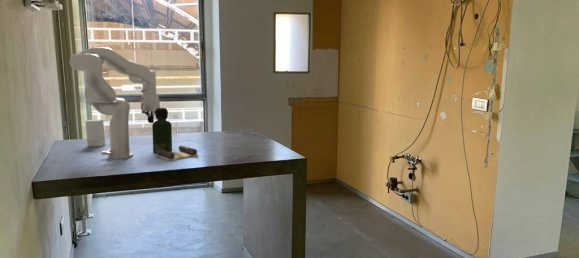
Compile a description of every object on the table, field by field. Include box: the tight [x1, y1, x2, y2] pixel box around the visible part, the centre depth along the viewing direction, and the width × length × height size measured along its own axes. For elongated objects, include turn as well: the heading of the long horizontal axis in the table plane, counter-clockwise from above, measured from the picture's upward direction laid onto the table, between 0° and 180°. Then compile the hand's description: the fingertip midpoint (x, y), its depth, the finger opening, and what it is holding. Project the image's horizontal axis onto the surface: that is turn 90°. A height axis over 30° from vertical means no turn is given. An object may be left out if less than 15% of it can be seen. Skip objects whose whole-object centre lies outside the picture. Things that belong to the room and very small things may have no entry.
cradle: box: [154, 145, 199, 162], centre depth 238 cm, size 18×14×4 cm
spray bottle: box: [151, 107, 173, 154], centre depth 247 cm, size 10×10×25 cm
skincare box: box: [84, 119, 106, 148], centre depth 261 cm, size 8×7×16 cm
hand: (150, 122), depth 256 cm, fingers closed
